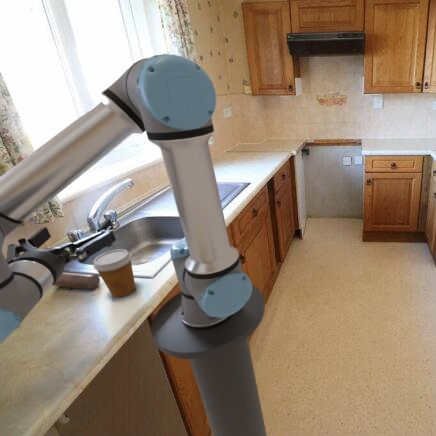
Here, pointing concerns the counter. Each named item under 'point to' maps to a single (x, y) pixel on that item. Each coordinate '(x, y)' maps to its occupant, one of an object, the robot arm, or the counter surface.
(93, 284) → the brown rounded cylinder
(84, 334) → the counter surface
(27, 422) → the counter surface
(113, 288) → the disposable coffee cup
